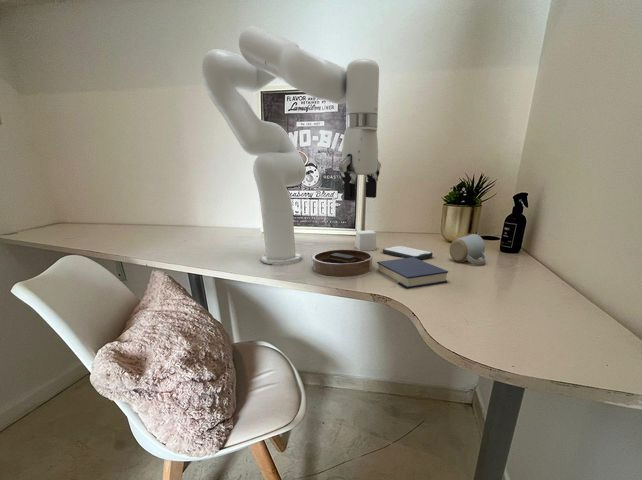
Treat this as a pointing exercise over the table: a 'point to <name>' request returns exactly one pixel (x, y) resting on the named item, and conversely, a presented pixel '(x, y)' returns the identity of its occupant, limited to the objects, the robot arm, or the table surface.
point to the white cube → (366, 240)
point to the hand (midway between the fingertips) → (360, 198)
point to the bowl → (348, 269)
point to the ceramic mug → (468, 249)
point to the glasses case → (342, 258)
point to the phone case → (407, 252)
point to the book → (413, 272)
